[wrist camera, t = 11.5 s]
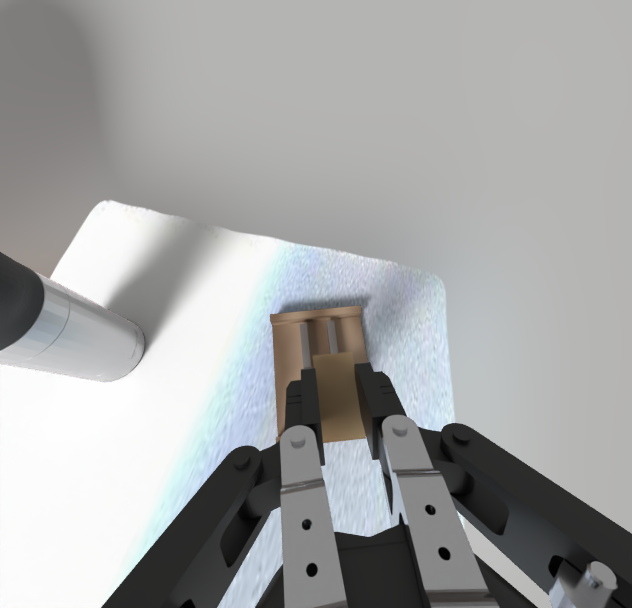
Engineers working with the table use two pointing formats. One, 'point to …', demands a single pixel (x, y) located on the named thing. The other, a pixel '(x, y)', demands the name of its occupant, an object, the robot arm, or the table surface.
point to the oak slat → (338, 397)
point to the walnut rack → (311, 344)
